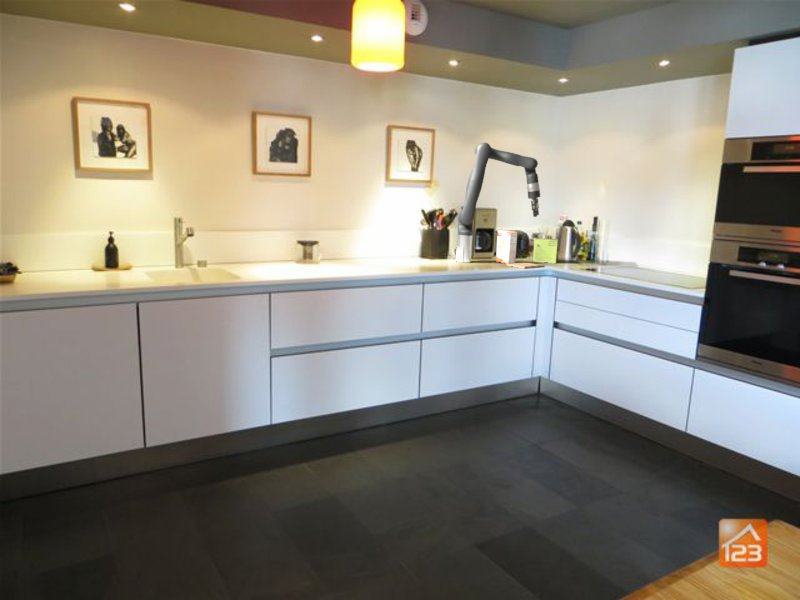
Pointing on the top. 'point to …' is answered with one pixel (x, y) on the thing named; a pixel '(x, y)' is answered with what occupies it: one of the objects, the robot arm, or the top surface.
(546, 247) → the protein box
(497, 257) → the cracker box
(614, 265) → the top surface
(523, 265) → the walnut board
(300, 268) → the top surface
